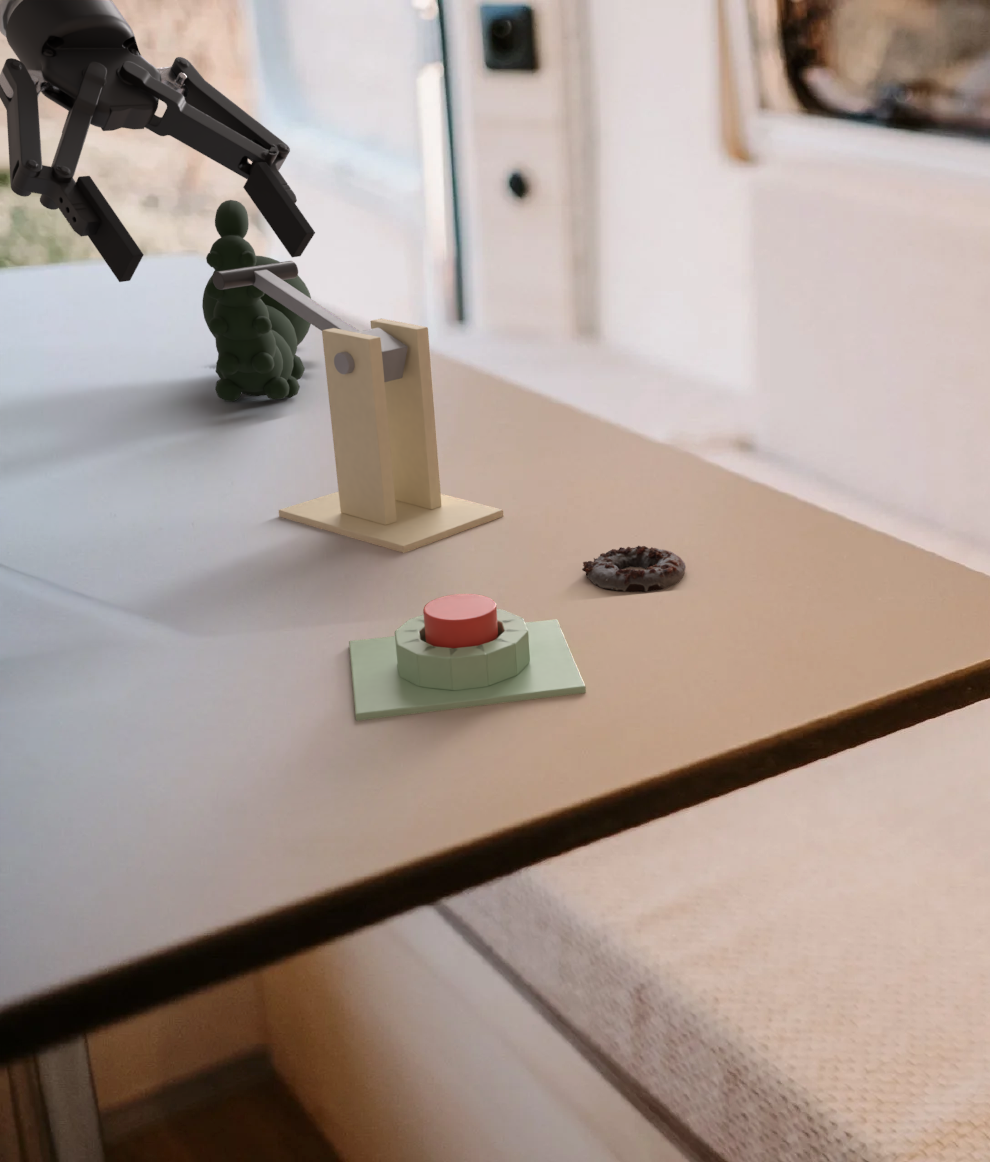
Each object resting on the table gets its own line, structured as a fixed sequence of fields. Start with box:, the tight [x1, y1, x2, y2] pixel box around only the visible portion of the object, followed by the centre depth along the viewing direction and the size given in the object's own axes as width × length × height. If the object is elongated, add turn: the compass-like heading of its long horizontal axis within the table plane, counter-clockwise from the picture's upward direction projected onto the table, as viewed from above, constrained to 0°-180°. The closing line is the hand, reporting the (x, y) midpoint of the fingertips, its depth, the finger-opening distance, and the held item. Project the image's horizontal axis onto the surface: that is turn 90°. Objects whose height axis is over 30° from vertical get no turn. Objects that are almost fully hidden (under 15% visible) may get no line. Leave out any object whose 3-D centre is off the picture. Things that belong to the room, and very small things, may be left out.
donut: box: [581, 545, 686, 593], centre depth 91 cm, size 8×8×2 cm
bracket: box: [278, 318, 504, 554], centre depth 98 cm, size 12×9×14 cm
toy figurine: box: [201, 199, 312, 402], centre depth 130 cm, size 9×19×25 cm
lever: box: [212, 260, 408, 382], centre depth 98 cm, size 14×6×2 cm, turn 59°
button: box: [422, 593, 498, 648], centre depth 75 cm, size 4×4×2 cm
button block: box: [348, 608, 587, 722], centre depth 76 cm, size 11×9×4 cm
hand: (222, 256), depth 101 cm, fingers open, 13 cm apart
